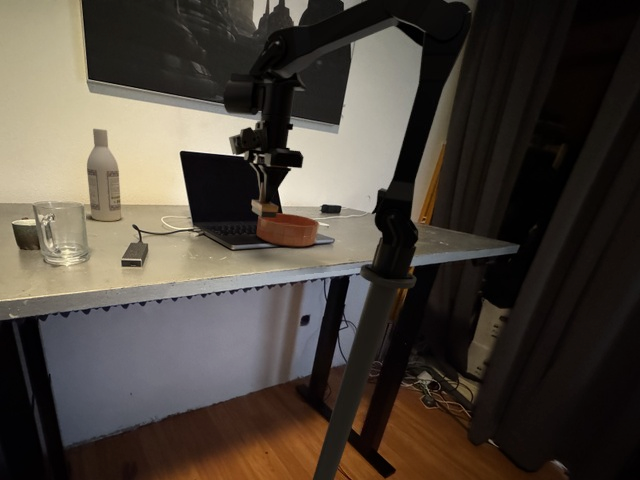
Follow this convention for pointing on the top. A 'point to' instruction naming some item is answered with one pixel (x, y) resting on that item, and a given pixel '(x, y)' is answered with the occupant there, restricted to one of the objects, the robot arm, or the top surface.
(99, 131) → the bath foam
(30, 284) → the top surface
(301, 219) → the bowl
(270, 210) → the scrub brush
